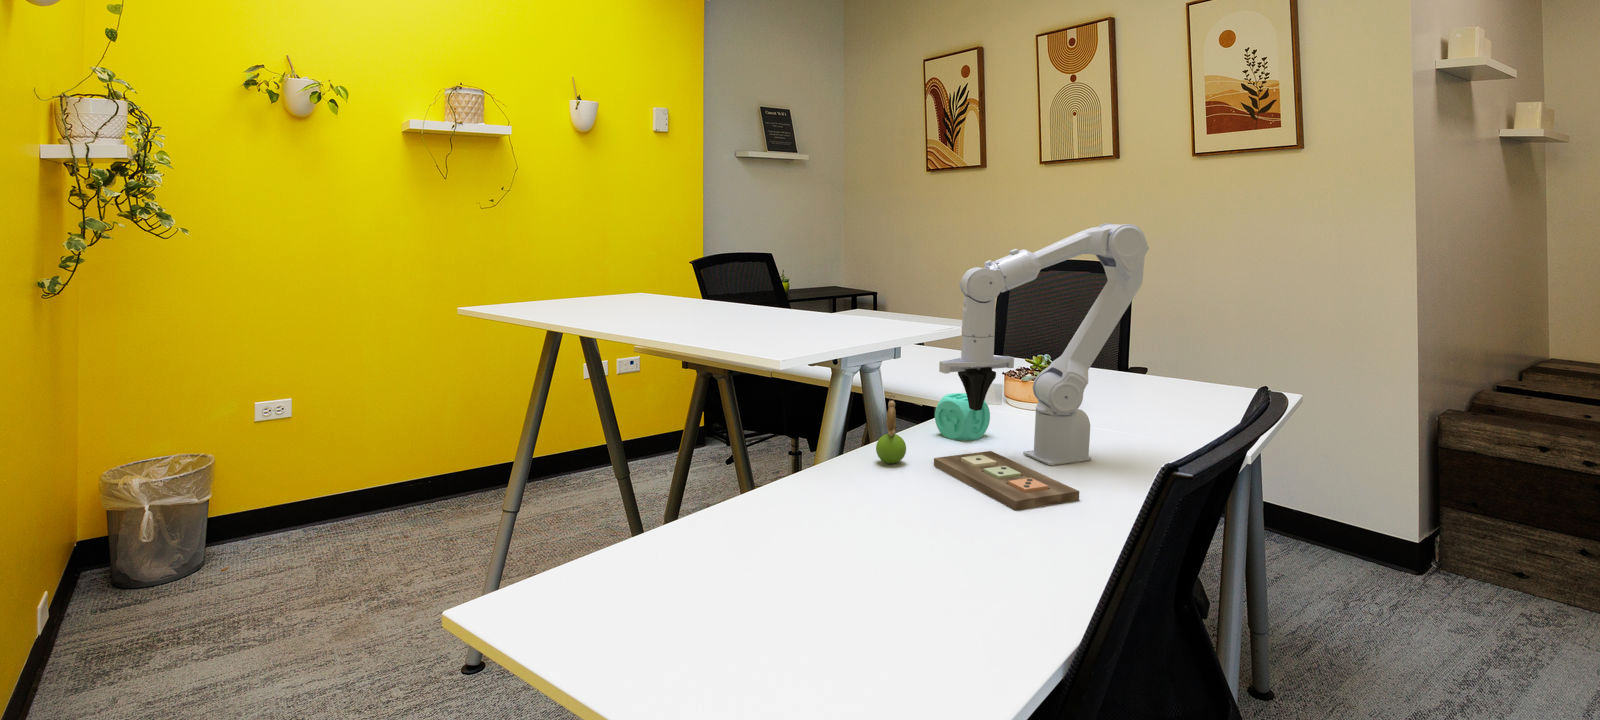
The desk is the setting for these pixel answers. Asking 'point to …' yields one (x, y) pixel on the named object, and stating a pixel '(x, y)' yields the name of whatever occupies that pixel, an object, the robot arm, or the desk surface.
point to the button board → (1006, 482)
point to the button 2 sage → (1002, 472)
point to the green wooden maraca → (891, 439)
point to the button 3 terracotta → (1028, 485)
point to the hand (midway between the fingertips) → (975, 409)
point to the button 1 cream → (978, 461)
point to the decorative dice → (961, 418)
